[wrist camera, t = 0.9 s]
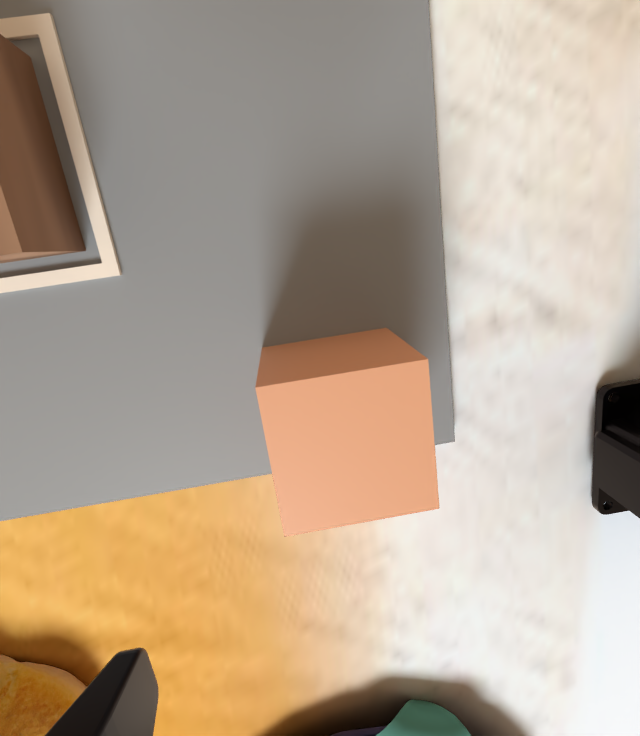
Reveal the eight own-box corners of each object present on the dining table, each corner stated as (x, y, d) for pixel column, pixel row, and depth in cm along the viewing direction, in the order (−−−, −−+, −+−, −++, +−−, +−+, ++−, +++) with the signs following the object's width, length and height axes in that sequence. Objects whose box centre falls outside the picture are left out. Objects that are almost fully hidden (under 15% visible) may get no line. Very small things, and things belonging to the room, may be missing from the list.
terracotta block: (386, 327, 17) (428, 358, 12) (397, 440, 19) (439, 508, 14) (261, 347, 17) (255, 387, 12) (283, 460, 18) (284, 536, 14)
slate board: (418, -54, 14) (426, -71, 14) (449, 435, 19) (456, 443, 19) (-278, 27, 13) (-312, 14, 13) (-53, 523, 18) (-68, 535, 18)
